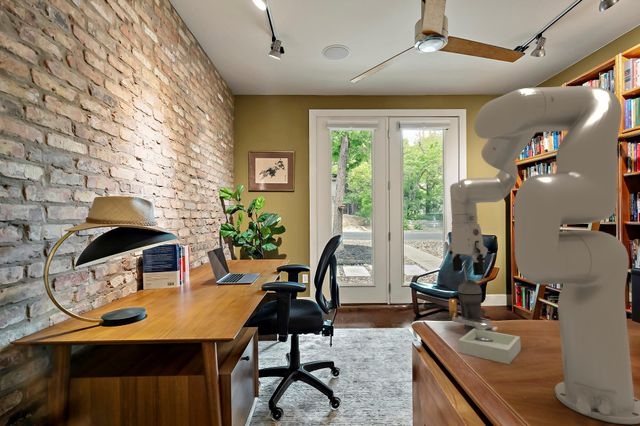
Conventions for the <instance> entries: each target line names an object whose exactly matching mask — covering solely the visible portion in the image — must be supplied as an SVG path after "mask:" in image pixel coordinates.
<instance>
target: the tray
mask: <svg viewBox="0 0 640 426" xmlns="http://www.w3.org/2000/svg"><path fill="white" fill-rule="evenodd" d="M467 332H468V331H467ZM467 332H466V333H467ZM466 333H465V334H464V335H463V336H462V337H460V338H459V339H458V349H459V350H458V352H459V354H460V353H461V354H463V355H468V356H471V357H472V356H473V357H476V358H480V359H485V360H488V361H492V362H497V363H501V364H506V365H511V363H512V361H513V360H514V359H515V358H516V357H517V356H518V354H519V353H520V352H521V350H522V345H521V344H522V343H521V336H518V335H513V334H508V333H507V334H506V333H502V332H501V333H500V332H496V331H492V332H491V330H489V331H485V330H478V329H472V330H471V331H470V332H468V333H467V334H466ZM476 337H478V338H483V339H488V340H493V342H483V341H477V340H475V338H476Z"/></svg>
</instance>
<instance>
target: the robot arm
mask: <svg viewBox="0 0 640 426" xmlns="http://www.w3.org/2000/svg"><path fill="white" fill-rule="evenodd" d="M621 124H622V105H621V102H620V100H619V98H618V96H617V95H616V94H615V93H614V92H613V91H611V90H609V89H606V88H603V87H599V86H588V85H587V86H586V85H583V86H582V85H576V86H575V85H574V86H571V85H570V86H569V85H568V86H566V85H565V86H549V87H548V86H546V87H542V86H541V87H526V88H525V87H524V88H519V89H516V90H513V91H511V92H508V93H506V94H504V95H501V96H499V97H496V98H494V99H492V100H490V101H488V102H486V103H485V104H484V105H483V106H482V107H480V109H479V110H478V112H477V113H476V116H475V118H474V122H473V129H474V133H475V134H476V136H477V137H478V138H480V139H483V140H486V142H485V144H484V146H482V149H481V157H482V159H483V160H484V162H485V163H486V164H488V166H491V167H492V168H495V169H496V170H499V171H498V173H497V174H496V175H495V176H493V177H475V178H474V177H473V178H464V179H461V180H459V181H458V182H455V183H452V184H451V185H449V186H450V187H449V192H450V193H449V194H450V195H449V196H450V208H451V210H450V211H451V234H450V235H451V236H450V237H451V238H450V241H451V243H449V244H448V245H447V248H448V251H449V254H450V257H451V260H452V270H453V272H459V271H463V262H462V261H463V259H462V258H461V257H462V256H468V257H471V258H472V260H473V262H472V270H473V276H483V275H484V274H485V273H484V263H485V259H486V258H487V253H488V251H489V249H488V247H486V246H485V245H484V240H483V234H482V230H481V225H480V223H478V214H477V213H478V212H477V208H478V207H477V204H479V203H497V202H500V201H502V200H504V199H505V198H506V197H507V196H508V195H509V194H510V193H511V191H512V190H513V189H514V187H515V186H516V184H517V180H518V177H519V176H518V175H519V171H518V170H519V169H518V164H517V162H516V161H517V160H518V158H519V157H520V155H521V154H522V153H523V151H524V150H525V148H526V147H527V146H528V145H529V143H530V141H532V139H533V138H534V137H535V134H536V133H550V132H567V133H566V134H565V135H564V136H563V137H562V139H561V141H560V143H559V145H558V147H557V150H556V155H555V159H556V160H555V161H556V167H555V168H556V169H555V172H554V173H541V174H535V175H532V176H530V177H528V178H526V179H525V180H523V182H522V183H521V184H520V185H519V187H518V189H517V191H516V194H515V197H514V202H513V203H514V205H513V211H514V213H513V214H514V219H513V221H514V222H513V223H514V227H513V228H514V229H513V231H514V236H513V237H514V257H515V263H516V267H517V270H518V271H519V273H520V275H521V276H522V277H523V278H524V279H525V280H526V281H529V282H530V283H533V284H536V285H563V286H562V288H561V290H560V291H559V295H558V301H557V309H558V310H557V312H558V314H557V315H558V323H559V324H558V325H559V336H560V346H561V347H560V349H561V350H560V351H561V360H562V371H563V372H562V373H563V380H564V381H561V382H558V383H557V384H556V385H555V387H554V394H555V396H556V398H557V399H558V400H559V402H561V403H562V404H563V405H565V406H566V407H567V408H569V409H571V410H573V411H575V412H577V413H578V414H581V415H584V416H587V417H589V418H592V419H595V420H599V421H601V422H602V421H603V422H608V423H612V424H620V425H637V424H640V400H639V399H638V398H637V397H635V395H634V384H633V374H632V364H631V355H630V353H631V352H630V343H629V334H628V333H629V331H628V323H627V321H628V320H627V311H626V285H627V284H626V283H627V278H628V272H629V266H630V260H629V254H628V251H627V248H626V246H625V245H624V244H623V242H622V241H621V240H620V239H618V238H617V237H616V236H614V235H612V234H610V233H608V232H607V233H606V232H605V231H599V230H593V229H591V230H589V229H587V230H585V229H584V230H567V231H563V230H562V231H560V230H561V225H562V226H563V225H579V224H580V225H581V224H583V225H584V224H592V223H594V224H595V223H599V222H602V221H605V220H607V219H609V218H610V217H612V215H614V213H615V212H616V211H615V210H616V208H617V204H618V141H619V133H620V128H621Z"/></svg>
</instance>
